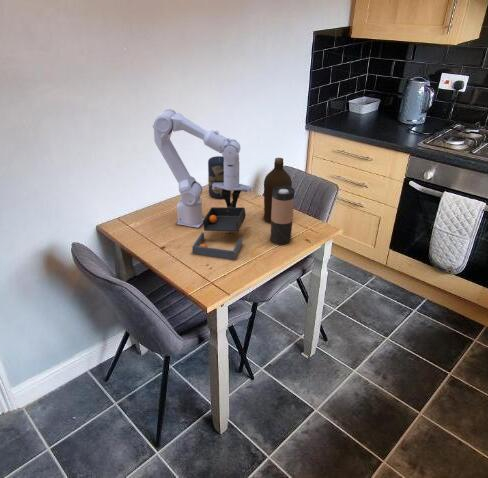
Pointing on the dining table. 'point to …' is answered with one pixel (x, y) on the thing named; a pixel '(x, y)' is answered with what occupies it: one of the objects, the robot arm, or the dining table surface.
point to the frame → (215, 252)
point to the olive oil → (274, 185)
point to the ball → (212, 218)
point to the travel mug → (282, 214)
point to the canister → (215, 175)
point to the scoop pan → (225, 218)
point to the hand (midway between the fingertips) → (231, 207)
